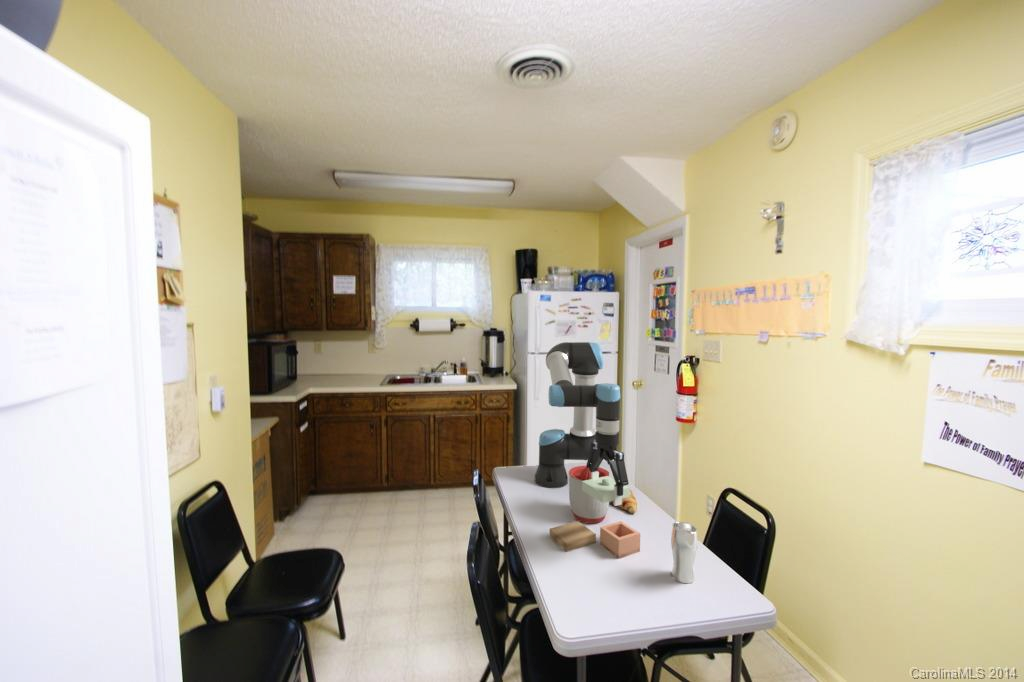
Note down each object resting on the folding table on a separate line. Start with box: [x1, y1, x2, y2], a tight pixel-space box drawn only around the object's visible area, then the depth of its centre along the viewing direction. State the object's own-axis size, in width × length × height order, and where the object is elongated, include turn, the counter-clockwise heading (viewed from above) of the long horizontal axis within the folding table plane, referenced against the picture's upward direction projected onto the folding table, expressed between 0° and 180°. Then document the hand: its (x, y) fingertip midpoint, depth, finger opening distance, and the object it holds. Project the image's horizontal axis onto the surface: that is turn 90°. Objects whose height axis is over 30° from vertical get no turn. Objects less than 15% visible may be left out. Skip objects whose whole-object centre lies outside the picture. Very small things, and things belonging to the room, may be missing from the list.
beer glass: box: [670, 521, 698, 584], centre depth 120 cm, size 7×7×15 cm
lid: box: [582, 475, 631, 503], centre depth 136 cm, size 11×11×4 cm
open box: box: [599, 520, 641, 560], centre depth 136 cm, size 9×9×6 cm
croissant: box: [610, 489, 638, 514], centre depth 168 cm, size 21×10×8 cm, turn 13°
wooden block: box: [548, 520, 597, 552], centre depth 140 cm, size 10×12×3 cm
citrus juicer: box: [568, 465, 610, 524], centre depth 156 cm, size 16×17×20 cm
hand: (605, 497), depth 136 cm, fingers closed on lid, 11 cm apart
